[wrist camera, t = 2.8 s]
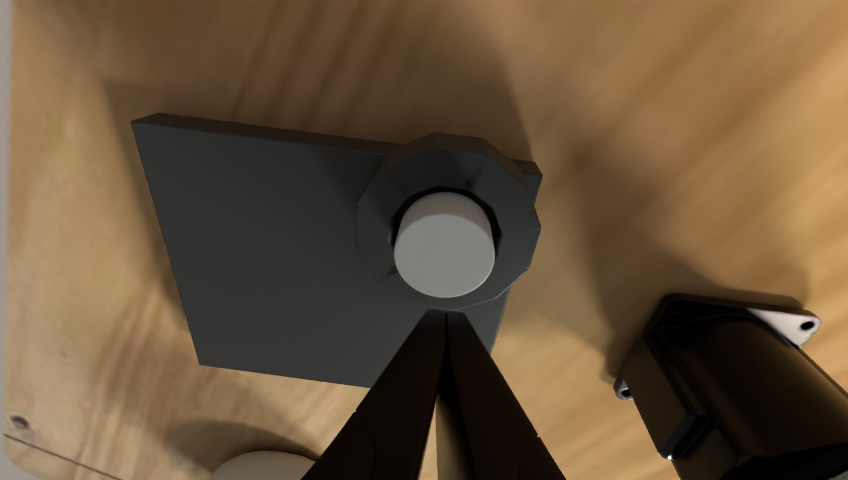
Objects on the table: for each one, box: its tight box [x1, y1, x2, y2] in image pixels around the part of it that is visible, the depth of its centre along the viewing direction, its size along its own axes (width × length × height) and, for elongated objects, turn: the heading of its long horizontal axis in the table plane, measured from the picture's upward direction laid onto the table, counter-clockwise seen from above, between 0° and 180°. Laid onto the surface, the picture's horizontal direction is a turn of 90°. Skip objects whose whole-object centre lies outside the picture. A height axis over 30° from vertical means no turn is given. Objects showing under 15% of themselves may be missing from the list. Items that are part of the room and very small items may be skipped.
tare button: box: [394, 192, 495, 298], centre depth 12 cm, size 3×3×2 cm
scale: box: [131, 113, 543, 388], centre depth 15 cm, size 14×13×3 cm
